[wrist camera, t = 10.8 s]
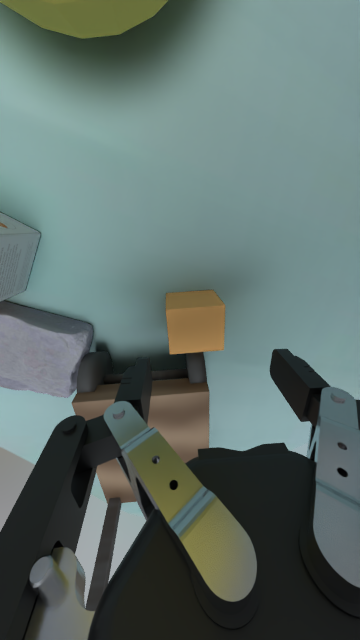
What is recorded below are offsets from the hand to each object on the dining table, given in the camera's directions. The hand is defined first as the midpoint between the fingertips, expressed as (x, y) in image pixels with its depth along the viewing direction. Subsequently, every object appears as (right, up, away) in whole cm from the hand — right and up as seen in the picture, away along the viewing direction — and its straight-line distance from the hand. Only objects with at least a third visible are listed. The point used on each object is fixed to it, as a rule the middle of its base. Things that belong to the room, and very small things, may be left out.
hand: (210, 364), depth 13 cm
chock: (-1, +4, +9) cm, 10 cm away
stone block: (-18, 0, +10) cm, 21 cm away
